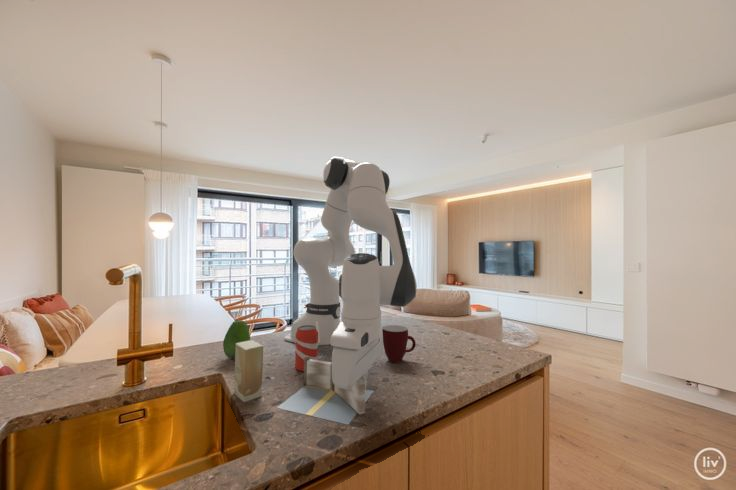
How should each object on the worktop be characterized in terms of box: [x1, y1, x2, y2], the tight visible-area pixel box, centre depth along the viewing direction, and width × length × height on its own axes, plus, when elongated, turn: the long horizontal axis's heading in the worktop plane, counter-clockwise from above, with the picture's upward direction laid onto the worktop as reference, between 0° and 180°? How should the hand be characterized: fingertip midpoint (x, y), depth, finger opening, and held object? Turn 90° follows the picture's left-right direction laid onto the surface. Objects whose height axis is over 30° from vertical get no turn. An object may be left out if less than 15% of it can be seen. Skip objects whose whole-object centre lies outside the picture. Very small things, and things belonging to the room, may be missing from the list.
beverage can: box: [294, 325, 319, 372], centre depth 87 cm, size 6×6×12 cm
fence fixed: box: [303, 356, 335, 391], centre depth 75 cm, size 9×1×7 cm, turn 69°
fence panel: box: [335, 379, 366, 415], centre depth 67 cm, size 12×1×6 cm, turn 32°
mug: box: [382, 324, 417, 363], centre depth 95 cm, size 11×8×10 cm
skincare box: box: [233, 339, 264, 403], centre depth 71 cm, size 6×4×12 cm
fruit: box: [222, 319, 251, 361], centre depth 95 cm, size 8×8×12 cm
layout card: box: [276, 385, 374, 426], centre depth 69 cm, size 17×15×1 cm
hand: (361, 389), depth 67 cm, fingers closed, pressing on fence panel
